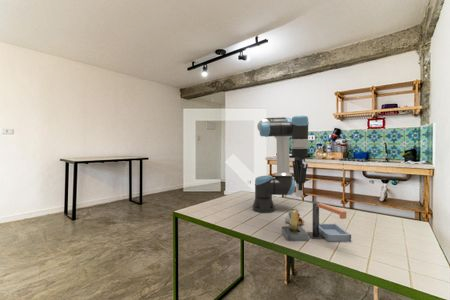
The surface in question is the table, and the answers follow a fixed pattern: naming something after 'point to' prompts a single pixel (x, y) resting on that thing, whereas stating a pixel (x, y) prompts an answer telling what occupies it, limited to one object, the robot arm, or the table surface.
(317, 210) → the gate post
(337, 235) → the tray
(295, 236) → the hitch block
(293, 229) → the pin
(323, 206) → the swing bar
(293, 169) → the robot arm
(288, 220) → the rainbow disc toy
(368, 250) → the table surface
